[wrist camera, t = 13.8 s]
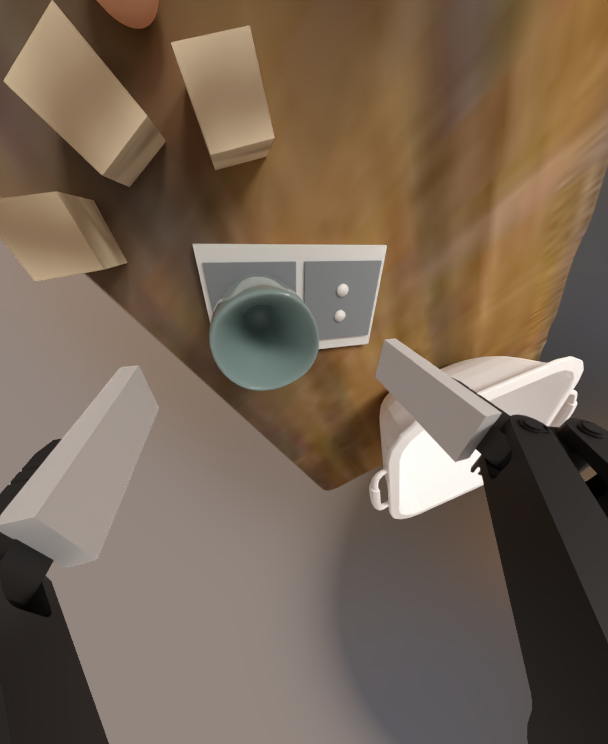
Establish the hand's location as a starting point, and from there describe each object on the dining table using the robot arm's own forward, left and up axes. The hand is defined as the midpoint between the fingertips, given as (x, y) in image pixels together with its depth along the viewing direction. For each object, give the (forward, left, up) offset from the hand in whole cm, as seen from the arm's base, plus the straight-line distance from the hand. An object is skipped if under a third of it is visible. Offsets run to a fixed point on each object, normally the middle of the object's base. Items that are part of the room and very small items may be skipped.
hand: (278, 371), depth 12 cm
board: (0, +5, -15) cm, 16 cm away
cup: (0, 0, -14) cm, 14 cm away
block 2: (-6, -14, -11) cm, 18 cm away
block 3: (-14, -1, -15) cm, 20 cm away
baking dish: (+21, +29, -15) cm, 39 cm away
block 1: (-13, -9, -15) cm, 21 cm away
